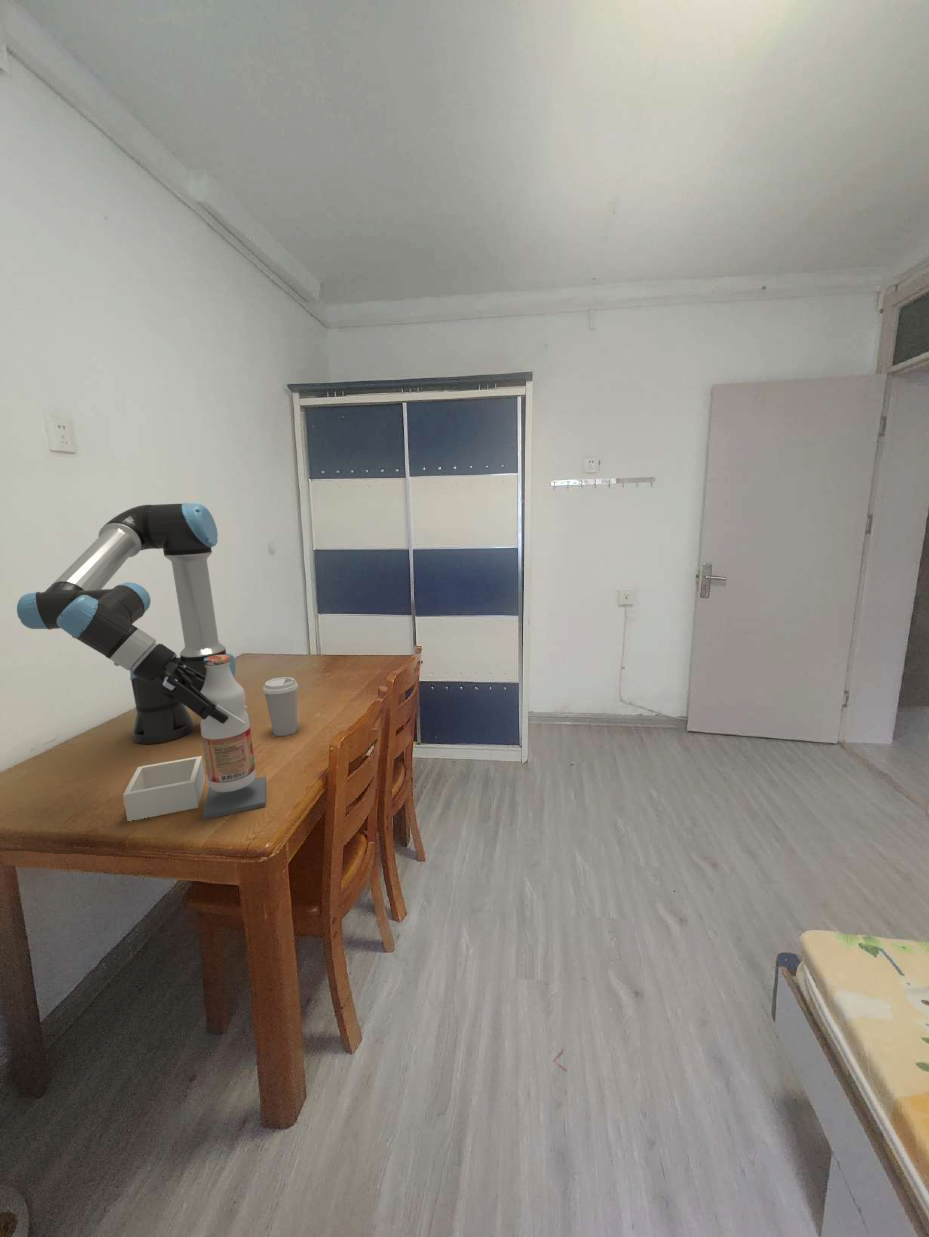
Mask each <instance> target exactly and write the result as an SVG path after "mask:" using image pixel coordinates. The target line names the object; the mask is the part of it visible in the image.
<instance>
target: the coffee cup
mask: <svg viewBox="0 0 929 1237" xmlns="http://www.w3.org/2000/svg"><path fill="white" fill-rule="evenodd" d="M298 688H299V684H298V683H297V681H296V680H295V678H293V677H289V676H287V677H285V676H284V677H282V676H281V677H276V678H271V679H269V680H267V681H265V683H264V686H263V687H262V693H263V694H265V695H264V696H265V701H266V706H267V709H268V713H269V714H268V715H269V717H270V718H269V719H270V723H271V728H272V732H273V735H274V736H277V737H285V736H286V737H287V736H291V735H293V734H295V733H297V731H298ZM290 734H291V735H290Z"/></svg>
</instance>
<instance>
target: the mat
mask: <svg viewBox="0 0 929 1237" xmlns="http://www.w3.org/2000/svg"><path fill="white" fill-rule="evenodd" d="M266 798H267V777H266V775H265V776H261V777H255V779H254V781H253V782H252V783H251V784H249V785H248V786H246V787H244V788H241V789H239V790H235V791H231V792H216V791H213V790H212V789H211V788H210V786H209V787H208V789H207V793H206V797H205V802H204V806H203V810H202V814H201V816H202V821H203V820H209V819H212V818H218V817H223V816H227V815H233V814H236V813H241V812H246V811H252V810H256V809H261V808H265V807H266V803H267V802H266V801H267V800H266Z"/></svg>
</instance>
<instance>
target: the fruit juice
mask: <svg viewBox="0 0 929 1237" xmlns="http://www.w3.org/2000/svg"><path fill="white" fill-rule="evenodd" d="M229 664H230V657H229V656H228V655H214V656H209V657H207V658H205V659H204V665H205V668H206V677H205V682H204V685H203V688H202V689H201V691H200V692H201V693H202V694H203V695H204V696H205V697H206V698H208V699H209V700H210V701H211V702H212V703H213V704H215V706H217V705H219V706H221V707H222V708H224V709H225V710H227V711H229V712H230V713H232V714H233V715H235V716H236V717H238V718H239V719H241V720H243V721H244V722H245V724H244V725H243V726H242V727H241V729H240V730H239V731H238V732H237V733H236V734H235V733H234V732H232V731H231V730H229V729H227V728H226V727H224V726H223V725H221V724H219V723H218V722H216V721H215V720H213V719H212V718H210V717H207V718H206V719H205V720H204V719H202V718H201V720H200V735H201V740H202V741H201V742H202V746H203V748H202V749H203V755H204V763H205V768H206V769H205V770H206V776H207V782H208V786H209V787H210V788H211V789H212V790H213V791H216V792H231V791H235V790H239V789H241V788H244V787H246V786H248V785H249V784H251V783H252V782H253V781H254V779H255V778H256V773H257V772H256V764H255V763H256V762H255V756H254V755H255V754H254V748H253V747H254V746H253V740H252V733H251V732H252V731H251V723H250V717H249V714H248V711H247V710H246V709H245V707H244V706H245V704H246V698H247V697H246V691H245V689H244V687H242V685H241V684H240V683H239V682H237V680H236V678H235V677H233V675H232V673H231V670H230V668H229Z"/></svg>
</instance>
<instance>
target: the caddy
mask: <svg viewBox="0 0 929 1237" xmlns="http://www.w3.org/2000/svg"><path fill="white" fill-rule="evenodd" d="M205 781H206V772H205V766H204V760H203V756H202V755H200V756H194V757H193V756H192V757H189V758H182V759H175V760H170V761H163V762H159V763H154V764H147V765H141V766H137V768H136V770H135V772H134V774H133V776H132V778H131V779H130V781H129V783H128V785H127V786H126V789H125V791H124V792H123V794H122V797H123V798H122V799H123V804H124V810H125V815H126V820H127V822H128V821H130V822H133V821H132V820H135V821H139V820H144V818H145V819H148V817H149V818H152V817H153V818H155V817H158V816H163V815H169V814H173V813H179V812H182V811H183V812H184V811H187V810H188V811H189V810H194V809H198V808H199V806H200V803H201V802H200V801H201V798H202V794H203V791H204V787H205V784H206V782H205Z"/></svg>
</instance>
